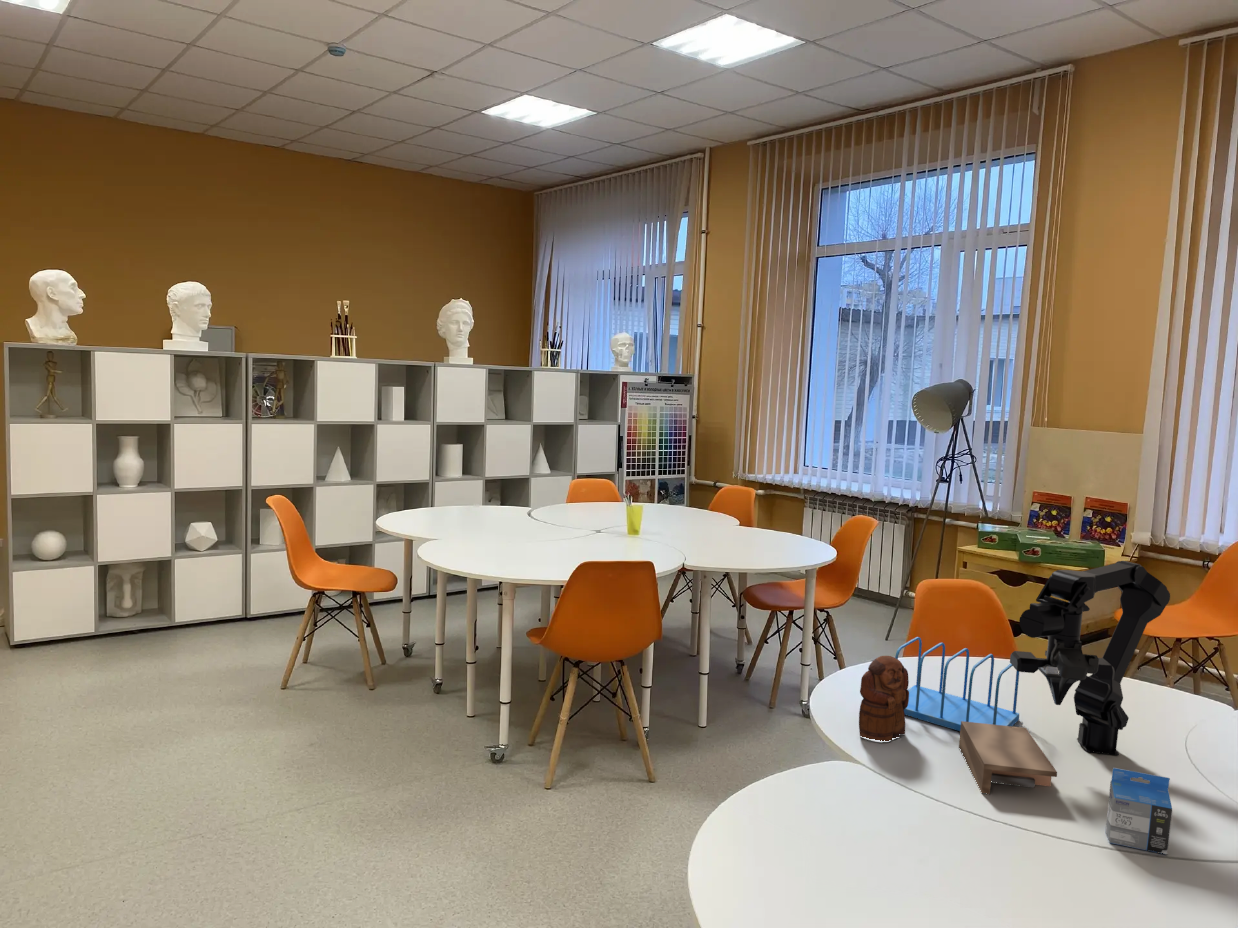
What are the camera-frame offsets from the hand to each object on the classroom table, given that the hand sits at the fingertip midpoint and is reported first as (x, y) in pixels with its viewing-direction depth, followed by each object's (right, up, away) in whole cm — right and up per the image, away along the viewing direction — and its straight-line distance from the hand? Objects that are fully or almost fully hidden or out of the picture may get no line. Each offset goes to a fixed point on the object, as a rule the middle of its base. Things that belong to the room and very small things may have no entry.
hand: (1057, 704), depth 177 cm
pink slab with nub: (-12, -12, -6) cm, 19 cm away
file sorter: (-13, -9, +22) cm, 27 cm away
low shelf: (-14, -12, -6) cm, 20 cm away
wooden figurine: (-34, -10, +9) cm, 36 cm away
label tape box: (-2, -16, -30) cm, 34 cm away
